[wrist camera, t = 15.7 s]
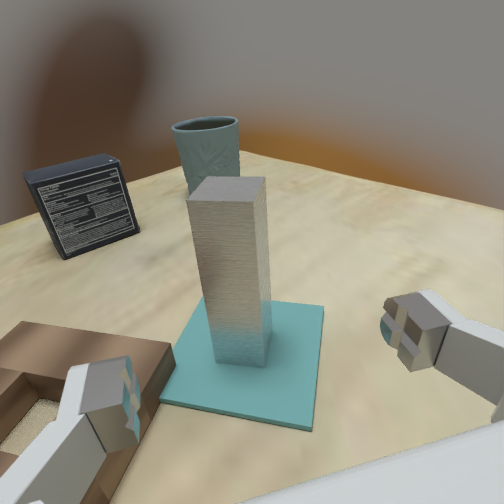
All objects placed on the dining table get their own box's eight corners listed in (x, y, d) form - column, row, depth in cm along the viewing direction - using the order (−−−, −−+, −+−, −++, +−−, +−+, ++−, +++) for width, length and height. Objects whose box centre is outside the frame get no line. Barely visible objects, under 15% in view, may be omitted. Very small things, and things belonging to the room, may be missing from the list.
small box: (124, 218, 53) (105, 150, 47) (141, 232, 48) (122, 159, 43) (51, 243, 48) (19, 170, 42) (63, 261, 43) (29, 182, 38)
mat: (148, 399, 25) (147, 395, 25) (205, 297, 35) (204, 293, 35) (311, 431, 22) (311, 426, 22) (323, 310, 32) (323, 306, 32)
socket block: (-150, 529, 19) (-190, 506, 18) (35, 345, 31) (21, 321, 29) (54, 608, 16) (28, 587, 15) (177, 369, 28) (170, 343, 26)
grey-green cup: (251, 201, 55) (245, 124, 49) (189, 213, 53) (175, 133, 47) (235, 181, 63) (228, 113, 57) (181, 190, 61) (168, 120, 55)
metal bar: (215, 362, 27) (186, 200, 20) (228, 326, 30) (207, 176, 23) (264, 368, 26) (253, 201, 19) (272, 331, 30) (265, 176, 22)
